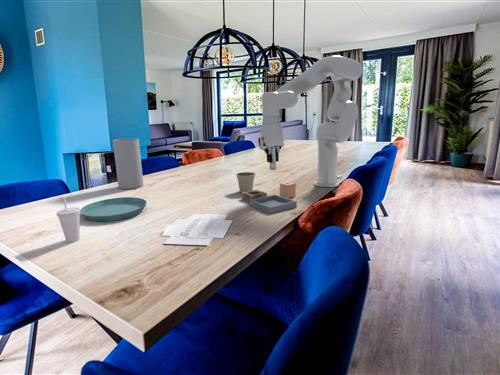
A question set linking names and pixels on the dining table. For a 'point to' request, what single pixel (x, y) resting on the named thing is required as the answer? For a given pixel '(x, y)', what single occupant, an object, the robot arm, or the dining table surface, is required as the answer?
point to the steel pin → (273, 158)
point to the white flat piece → (197, 229)
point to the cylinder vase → (128, 163)
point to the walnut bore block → (253, 195)
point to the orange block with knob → (288, 189)
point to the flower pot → (245, 181)
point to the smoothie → (70, 222)
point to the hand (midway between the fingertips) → (272, 161)
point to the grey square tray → (273, 203)
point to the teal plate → (113, 209)
